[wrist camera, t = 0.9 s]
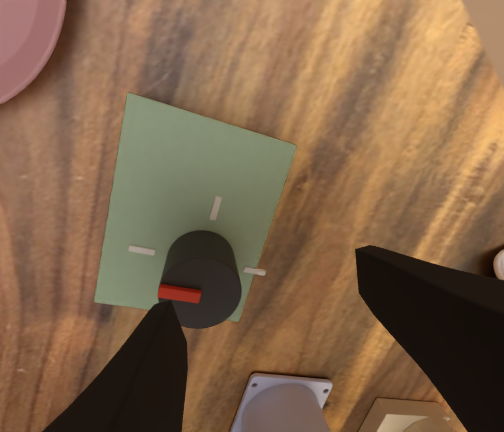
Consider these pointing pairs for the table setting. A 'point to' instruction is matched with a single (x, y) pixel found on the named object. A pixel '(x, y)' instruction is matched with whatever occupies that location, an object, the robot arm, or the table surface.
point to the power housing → (406, 417)
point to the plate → (26, 41)
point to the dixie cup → (499, 265)
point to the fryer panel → (185, 196)
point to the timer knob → (201, 279)
